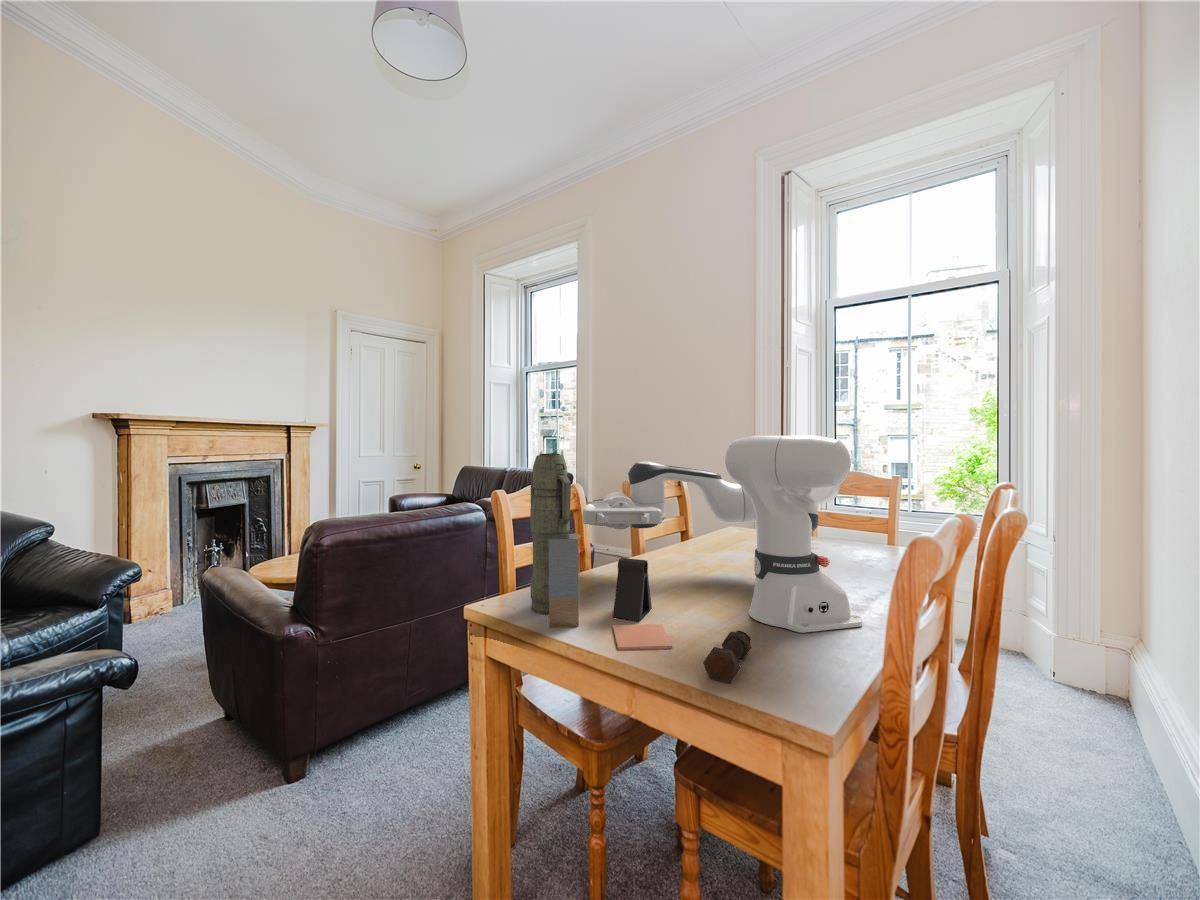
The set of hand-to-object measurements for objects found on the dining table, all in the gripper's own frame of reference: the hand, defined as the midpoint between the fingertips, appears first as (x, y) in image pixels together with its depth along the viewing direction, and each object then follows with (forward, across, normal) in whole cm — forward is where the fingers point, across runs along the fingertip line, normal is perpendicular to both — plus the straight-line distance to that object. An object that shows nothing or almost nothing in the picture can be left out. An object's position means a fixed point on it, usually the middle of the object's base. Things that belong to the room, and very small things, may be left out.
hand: (624, 520), depth 126 cm
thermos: (+8, +17, -19) cm, 27 cm away
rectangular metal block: (+17, +14, -19) cm, 29 cm away
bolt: (+38, -15, -19) cm, 45 cm away
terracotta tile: (+26, -1, -19) cm, 32 cm away
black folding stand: (+12, -1, -19) cm, 23 cm away
